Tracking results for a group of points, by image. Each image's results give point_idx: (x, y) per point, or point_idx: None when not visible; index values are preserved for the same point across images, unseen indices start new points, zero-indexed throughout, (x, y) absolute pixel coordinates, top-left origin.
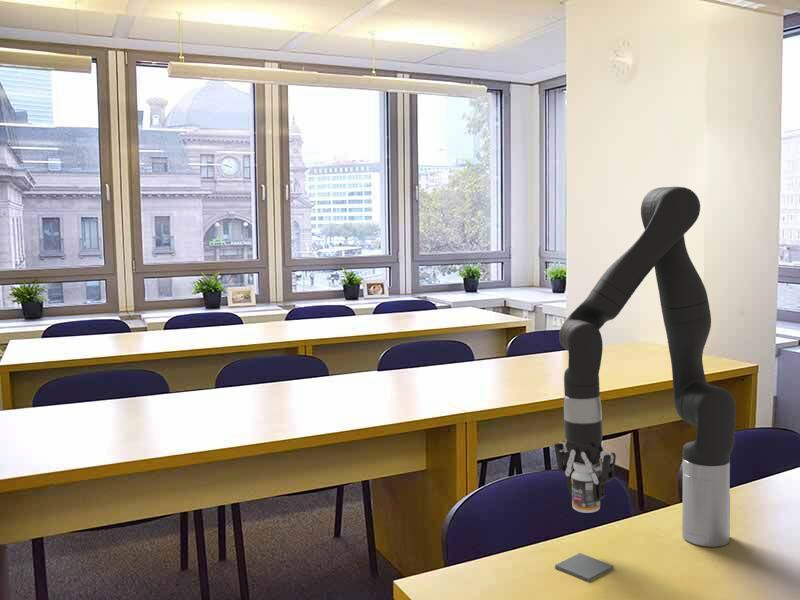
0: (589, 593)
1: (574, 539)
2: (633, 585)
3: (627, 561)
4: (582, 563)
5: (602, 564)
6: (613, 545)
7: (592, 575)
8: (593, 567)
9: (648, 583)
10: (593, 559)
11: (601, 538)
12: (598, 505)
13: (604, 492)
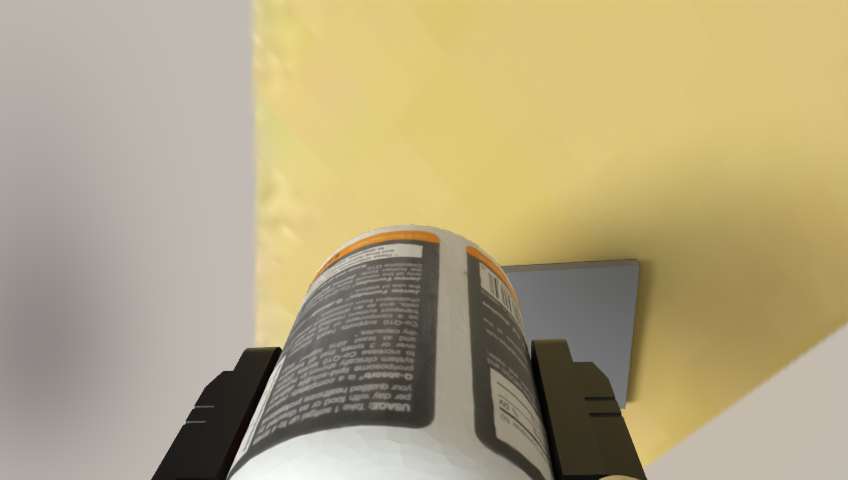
0: (670, 449)
1: (303, 152)
2: (774, 311)
3: (644, 153)
4: (529, 339)
5: (596, 290)
6: (483, 50)
7: (620, 382)
8: (583, 333)
9: (821, 256)
10: (537, 280)
11: (378, 25)
12: (523, 323)
13: (616, 403)
